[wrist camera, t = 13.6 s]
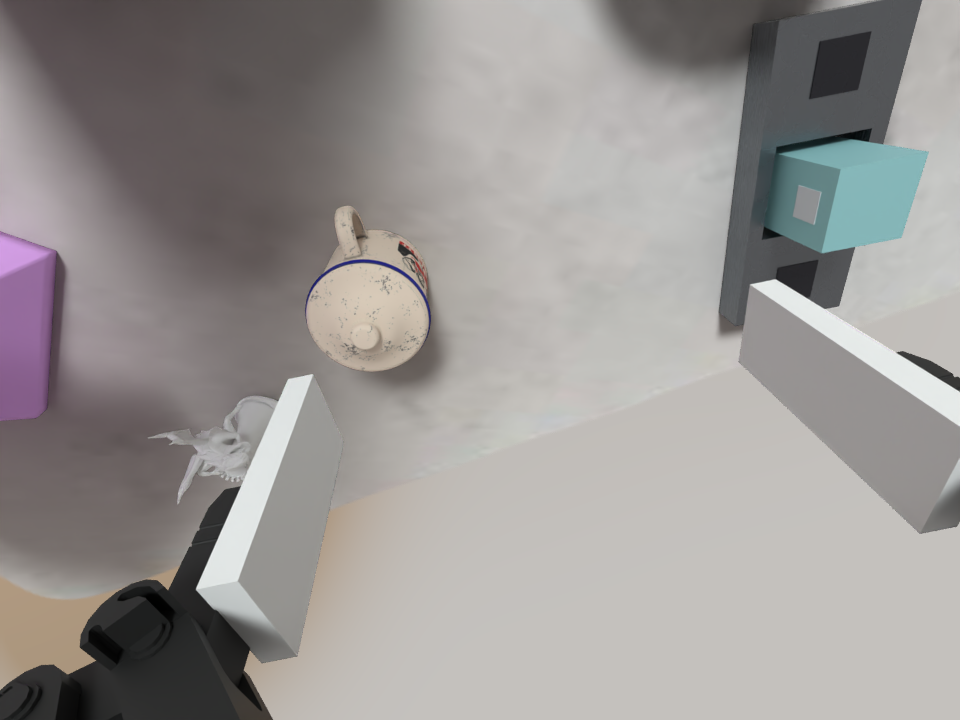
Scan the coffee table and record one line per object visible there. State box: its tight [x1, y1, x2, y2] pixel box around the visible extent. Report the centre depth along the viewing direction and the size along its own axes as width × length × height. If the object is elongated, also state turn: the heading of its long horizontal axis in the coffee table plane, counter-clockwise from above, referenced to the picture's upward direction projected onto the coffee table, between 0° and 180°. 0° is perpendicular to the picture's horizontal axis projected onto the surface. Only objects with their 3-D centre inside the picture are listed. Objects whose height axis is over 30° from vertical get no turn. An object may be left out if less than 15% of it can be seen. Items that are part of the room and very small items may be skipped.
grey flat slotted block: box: [719, 0, 922, 326], centre depth 40 cm, size 24×10×3 cm, turn 9°
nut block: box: [764, 136, 929, 253], centre depth 37 cm, size 6×6×9 cm
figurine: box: [148, 396, 278, 504], centre depth 43 cm, size 11×8×12 cm
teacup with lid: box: [305, 206, 431, 372], centre depth 36 cm, size 12×9×12 cm
